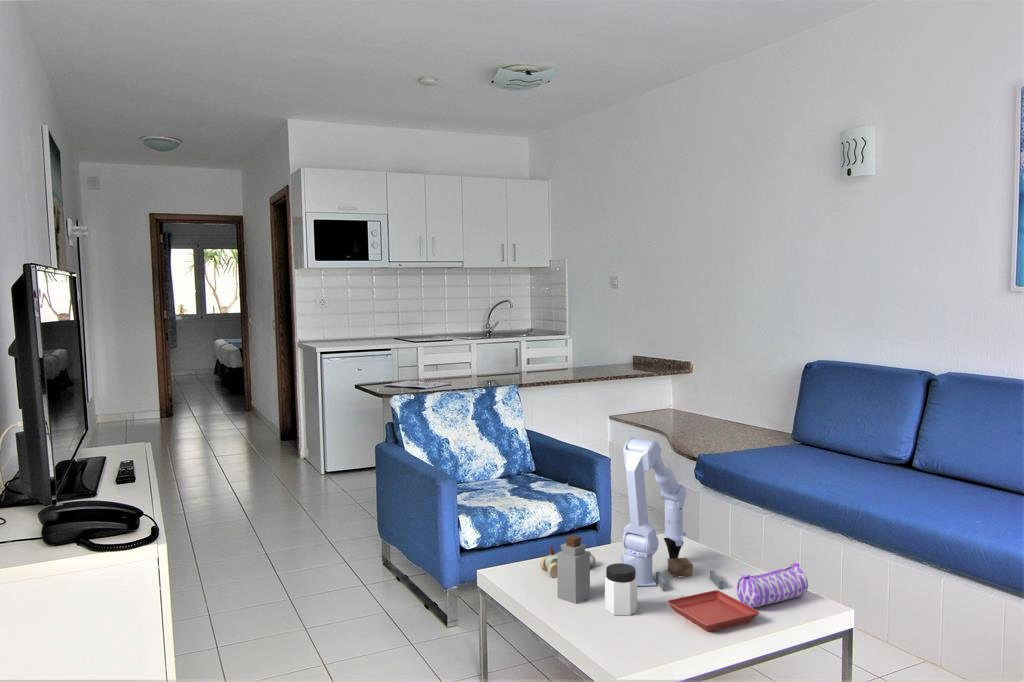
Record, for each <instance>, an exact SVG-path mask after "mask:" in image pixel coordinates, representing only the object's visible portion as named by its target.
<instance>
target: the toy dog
mask: <svg viewBox="0 0 1024 682" xmlns="http://www.w3.org/2000/svg"><path fill="white" fill-rule="evenodd" d="M548 550H549V551H548V552H549V555H545V556H543V557H542V558H541V560H540V562H539V564H540V568H541V569H542V570H544V571H545V572H547V574H548V575H549V577H551V578H553V579H557V553H558V552H555V551H554V549H553V546H552V545H549V546H548ZM588 552H590V568H593V567H595V565H596V563H597V562H596V558H595V556H594V555H592V552H591V551H589V550H588Z"/></svg>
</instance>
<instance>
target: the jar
mask: <svg viewBox="0 0 1024 682" xmlns="http://www.w3.org/2000/svg"><path fill="white" fill-rule="evenodd" d="M605 571H606V576H605V577H604V609H605V610H606V611H607V612H608V613H610V614H611V615H613V616H621V617H622V616H626V617H627V616H629V617H630V616H631V615H633V614H634V613H635V612H636V611H637V610H638V586H637V578H636V577H635V576H636V572H635V568H634V567H633V566H631V565H628V564H621V562H619V563H612V564H609V565H607V567H606V570H605Z"/></svg>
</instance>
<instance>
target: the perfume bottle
mask: <svg viewBox="0 0 1024 682" xmlns="http://www.w3.org/2000/svg"><path fill="white" fill-rule="evenodd" d="M586 547H587V544H585V543H582V537H581V536H578V535H574V534H571V535H568V536H566V537H565V543H562V544H560V548H561V550H560V551H557V552H556V553H557V578H556V580H557V599H560V600H564V601H566V602H569V603H572V604H574V605H575V604H576V605H577V604H578V603H581V602H582V601H584V600H587V599H588V598H590V597H591V573H590V572H591V567H590V552H591V551H590V552H588V551H589V550H588V551H587V550H586Z"/></svg>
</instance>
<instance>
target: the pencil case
mask: <svg viewBox="0 0 1024 682" xmlns="http://www.w3.org/2000/svg"><path fill="white" fill-rule="evenodd" d="M800 566H801V565H800V564H799V563H798V562H795V561H794V562H792V563H791V564H789V565H788V566H785V567H783V568H779V569H776V570H772V571H770V572H765V573H762V574H761V573H760V574H757V575H750V574H746V575H745V574H739V576H740V578H739V579H738V581H737V585H736V594H737V597H738V599H739V600H738V601H740V602H742V603H744V604H746V605H748V606H750V607H751V608H753V609H755V608H759V607H762V606H765V605H771V604H775V603H781V602H783V601H787V600H790V599H794V598H797V597H801V596H804V595H805V594H806V593H807V591H808V588H809V581H808V578H807V576H806V574H805V572H804V571H803V570H802V569H801V568H800Z"/></svg>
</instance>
